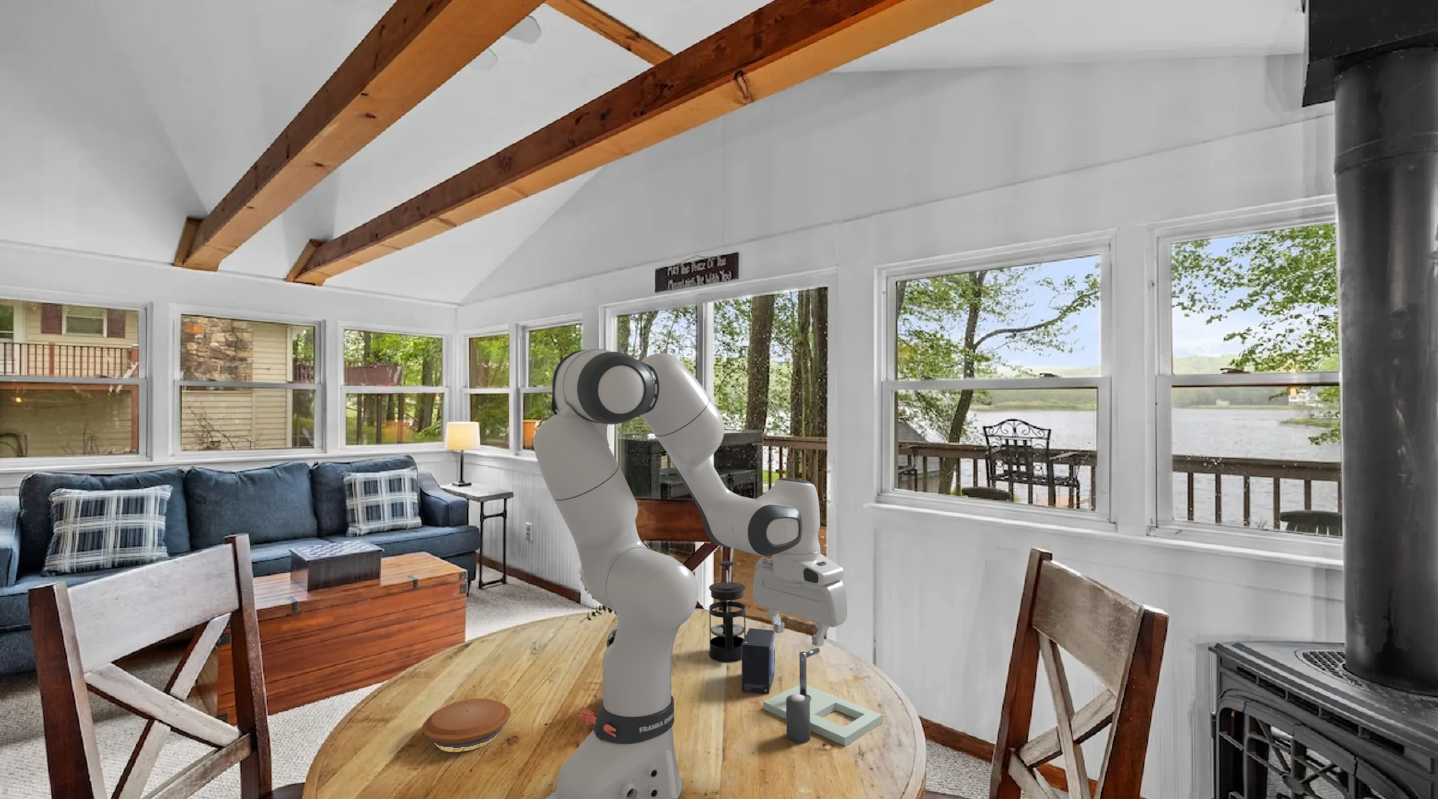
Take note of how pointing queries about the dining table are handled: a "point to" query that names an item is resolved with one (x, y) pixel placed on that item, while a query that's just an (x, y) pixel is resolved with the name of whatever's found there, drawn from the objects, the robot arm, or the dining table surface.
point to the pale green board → (825, 705)
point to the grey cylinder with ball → (798, 718)
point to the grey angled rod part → (803, 670)
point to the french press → (726, 620)
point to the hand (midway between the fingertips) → (797, 638)
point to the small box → (758, 661)
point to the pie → (466, 722)
